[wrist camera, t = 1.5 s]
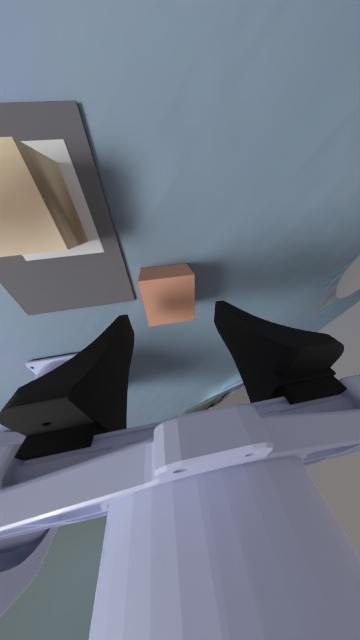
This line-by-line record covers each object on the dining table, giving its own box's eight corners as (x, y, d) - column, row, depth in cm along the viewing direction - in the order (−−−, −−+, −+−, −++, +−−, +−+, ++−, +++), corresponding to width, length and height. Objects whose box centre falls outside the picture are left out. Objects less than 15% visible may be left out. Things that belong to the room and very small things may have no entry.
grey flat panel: (135, 299, 17) (135, 300, 17) (29, 314, 16) (27, 315, 16) (76, 102, 9) (75, 100, 9) (-146, 109, 8) (-153, 106, 8)
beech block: (88, 241, 13) (68, 249, 10) (30, 247, 13) (-12, 258, 9) (56, 161, 10) (11, 136, 7) (-22, 166, 10) (-108, 142, 6)
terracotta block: (187, 302, 19) (195, 319, 16) (149, 307, 18) (149, 326, 15) (186, 262, 16) (194, 274, 13) (141, 268, 16) (137, 281, 12)
